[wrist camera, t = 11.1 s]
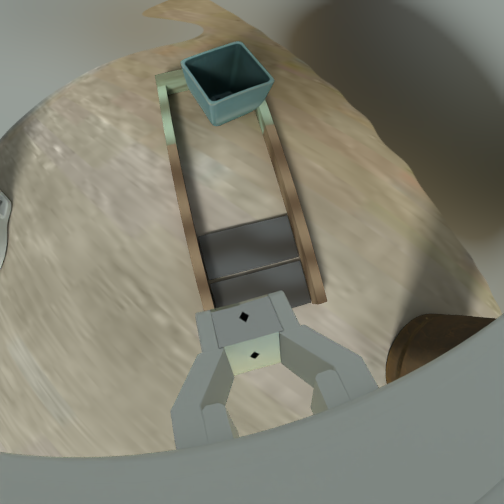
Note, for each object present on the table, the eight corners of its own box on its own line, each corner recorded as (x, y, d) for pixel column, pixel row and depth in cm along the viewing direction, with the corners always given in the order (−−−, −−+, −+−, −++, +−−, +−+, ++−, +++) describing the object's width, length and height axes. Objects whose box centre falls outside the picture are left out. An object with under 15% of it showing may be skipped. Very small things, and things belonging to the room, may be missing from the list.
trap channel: (320, 301, 38) (331, 301, 34) (211, 332, 36) (210, 336, 32) (250, 74, 42) (252, 57, 38) (158, 91, 40) (154, 75, 36)
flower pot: (235, 78, 42) (240, 39, 33) (265, 118, 41) (276, 80, 32) (184, 99, 40) (178, 60, 31) (211, 142, 40) (210, 106, 31)
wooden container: (428, 415, 38) (523, 460, 16) (367, 387, 37) (473, 445, 16) (466, 336, 40) (569, 345, 19) (413, 296, 40) (534, 291, 18)
